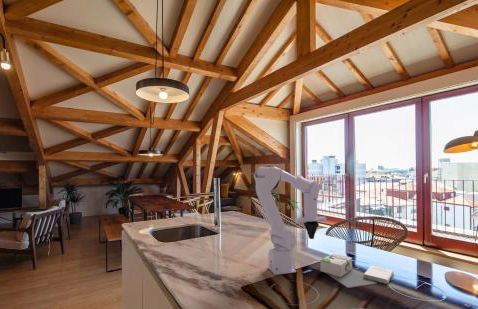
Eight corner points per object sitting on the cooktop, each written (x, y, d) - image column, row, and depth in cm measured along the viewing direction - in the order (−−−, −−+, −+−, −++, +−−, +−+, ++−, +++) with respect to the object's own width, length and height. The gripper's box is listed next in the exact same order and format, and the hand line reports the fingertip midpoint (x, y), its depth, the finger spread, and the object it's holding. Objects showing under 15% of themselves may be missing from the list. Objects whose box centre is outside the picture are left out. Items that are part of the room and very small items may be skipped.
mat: (347, 288, 92) (347, 287, 92) (324, 272, 106) (324, 271, 106) (377, 283, 96) (377, 283, 96) (351, 269, 109) (351, 268, 109)
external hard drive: (363, 278, 100) (371, 268, 109) (387, 284, 94) (393, 273, 104) (363, 273, 100) (371, 264, 109) (387, 279, 94) (393, 269, 104)
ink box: (319, 259, 106) (332, 252, 114) (320, 272, 106) (332, 264, 114) (340, 264, 100) (352, 257, 108) (341, 277, 100) (352, 269, 108)
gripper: (300, 210, 112) (300, 242, 112) (330, 208, 116) (330, 239, 115) (292, 207, 119) (293, 237, 119) (321, 206, 123) (321, 235, 122)
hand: (311, 238), depth 118 cm, fingers closed
